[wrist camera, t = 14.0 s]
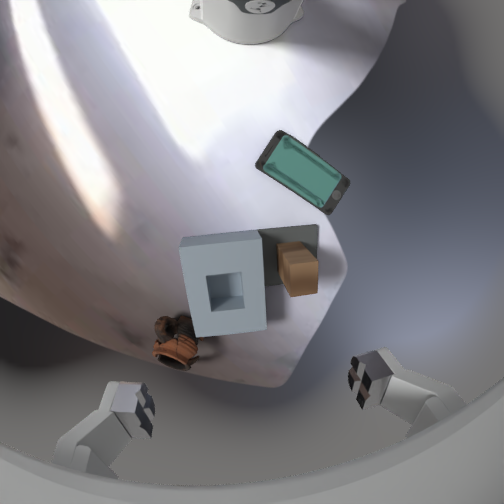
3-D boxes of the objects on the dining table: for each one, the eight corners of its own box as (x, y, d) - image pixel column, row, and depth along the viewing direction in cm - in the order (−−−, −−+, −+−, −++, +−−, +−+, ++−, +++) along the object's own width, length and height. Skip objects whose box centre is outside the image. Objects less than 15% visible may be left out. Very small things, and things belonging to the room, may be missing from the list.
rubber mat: (256, 229, 44) (257, 230, 44) (315, 224, 45) (316, 225, 44) (260, 285, 48) (260, 286, 47) (314, 278, 48) (316, 279, 48)
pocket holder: (182, 237, 43) (178, 247, 38) (256, 229, 44) (261, 238, 39) (197, 321, 48) (196, 337, 44) (262, 314, 50) (266, 329, 45)
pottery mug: (216, 338, 51) (203, 375, 45) (178, 336, 55) (165, 370, 49) (183, 300, 44) (165, 342, 38) (145, 301, 48) (126, 337, 42)
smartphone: (329, 216, 44) (254, 166, 40) (327, 215, 45) (253, 166, 41) (352, 180, 42) (280, 127, 38) (349, 180, 44) (278, 128, 39)
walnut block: (276, 243, 45) (290, 264, 36) (299, 241, 45) (318, 261, 37) (277, 271, 46) (290, 297, 38) (300, 268, 47) (317, 293, 38)
